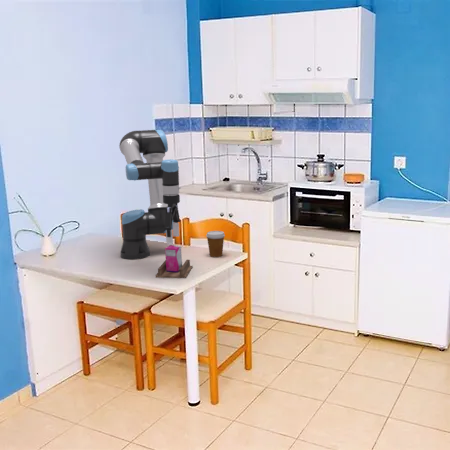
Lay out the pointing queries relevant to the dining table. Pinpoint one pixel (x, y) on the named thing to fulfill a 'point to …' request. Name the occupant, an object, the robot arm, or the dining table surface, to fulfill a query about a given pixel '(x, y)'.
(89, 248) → the dining table surface
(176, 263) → the supplement box
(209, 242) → the disposable coffee cup
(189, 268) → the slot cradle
